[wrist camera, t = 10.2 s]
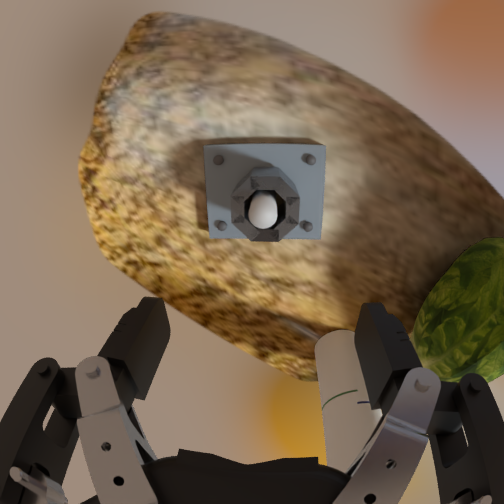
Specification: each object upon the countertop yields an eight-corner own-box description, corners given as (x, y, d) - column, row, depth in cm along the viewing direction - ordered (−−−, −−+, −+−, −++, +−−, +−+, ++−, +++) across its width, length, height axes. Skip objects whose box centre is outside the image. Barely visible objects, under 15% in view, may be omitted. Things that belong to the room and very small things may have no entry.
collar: (295, 167, 25) (300, 177, 21) (293, 221, 28) (297, 242, 23) (237, 166, 26) (229, 176, 21) (238, 221, 28) (232, 240, 24)
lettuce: (360, 319, 36) (393, 432, 23) (474, 192, 23) (566, 299, 10) (422, 334, 42) (452, 416, 28) (510, 243, 29) (565, 323, 15)
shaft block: (323, 144, 26) (343, 153, 19) (318, 234, 31) (333, 272, 23) (206, 144, 27) (181, 153, 19) (212, 233, 31) (193, 270, 24)
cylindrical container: (350, 363, 40) (377, 507, 17) (308, 360, 40) (320, 516, 17) (367, 331, 37) (412, 491, 14) (322, 327, 37) (347, 505, 14)
